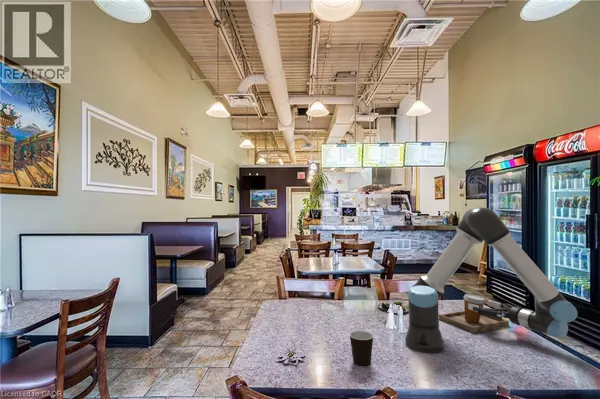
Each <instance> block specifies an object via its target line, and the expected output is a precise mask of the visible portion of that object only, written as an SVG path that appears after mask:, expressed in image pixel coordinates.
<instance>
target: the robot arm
mask: <svg viewBox="0 0 600 399" xmlns="http://www.w3.org/2000/svg"><path fill="white" fill-rule="evenodd" d="M455 229H456V234H455V235H454V237H453V238H452V239H451V241H450V242H449V243H448V245H447V246H446V247H445V249H444V250H443V252H442V253H441V254H440V256H439V257H438V259H437V260H436V261H435V263H433V265H432V267H431V268H430V270H429V271H428V272H427V274H426V275H422V276H420V278H418V280H417V282H416V283H414V284H413V285H412V286H411V287H409V289H408V291H407V292H408V294H407V298H408V306H409V312H408V322H409V323H408V329H407V333H406V335H405V345H406V346H407V347H408V348H409V349H410V350H413V351H416V352H420V353H426V354H437V353H441V352H444V350H445V341H444V339H443V335H442V333H441V331H440V323H439V322H440V320H439V315H440V314H439V301H440V299H441V298H442V297H443V295H444V294H445V290H444V287H445V286H446V284H448V282H449V280H450V279H451V278H452V276H453V275H454V274H455V273H456V271H457V270H458V269H459V267H460V266H461V265H462V263H463V262H464V261H465V259H466V258H467V257H468V255H469V254H470V252H471V251H472V250H473V248H474V247H475V246H476V245H478V244H482V243H483V242H484V243H485V244H486V245H487V246H491V247H492V248H493V250H495V251H496V253H497V254H498V255H499V256H500V258H502V259H503V261H504V262H505V263H506V264H507V266H508V267H509V268H510V269H511V270H512V271H513V273H514V274H515V275H516V276H517V278H519V280H520V281H521V282H522V283H523V285H524V286H525V287H526V288H527V289H528V290H529V292H530V293H531V294H532V295H533V297H534V308H535V311H534V310H532V309H528V308H523V307H519V306H514V305H511V304H510V303H507V302H506V303H501V302H497V301H494V300H490V299H489V300H487V306H488V307H490V308H488V307H483V308H481V307H480V306H477V305H474V304H470V303H468V309H470V310H473V311H476V312H478V314H480V315H486V316H491V317H496V318H500V319H508V321H509V322H510V323H512V324H513V325H517V326H520V327H523V328H527V329H528V330H530V331H531V330H533V331H535V332H539V333H542V334H545V335H548V336H550V337H554V338H559V339H562V338H564V337H566V335H567V334H568V331H569V325H568V323H571V322H573V321H575V320H576V319H577V317H578V310H577V308H576V307H575V306H574V305H573V303H572V302H570V301H568V300H567V299H566V298H565V297H564V295H563V294H562V293H561V292H560V291H559V289H558V288H557V287H556V286H555V285H554V284H553V282H552V281H550V279H549V278H548V277H547V276H546V275H545V274H544V273H543V271H542V270H541V269H540V268H539V267H538V266H537V264H536V263H535V262H534V261H533V260H532V259H531V258H530V257H529V255H528V254H527V253H526V252H525V251H524V250H523V249H522V247H521V246H520V245H519V244H518V242H516V240H515V239H514V238H513V237H512V236H511V232H512V231H511V230H510V229H509V228H508V226H506V224H505V223H504V221H503V220H502V219H501V218H500V217H499V215H498V214H497V213H496V212H495V211H493V210H492V209H490V208H487V207H474V208H471V209H468V210H467V211H466V212H465V213H464V214H463V216H462V219H461V221H460V222H459V224H458V225H457V226H456V227H455ZM491 307H492V308H491Z"/></svg>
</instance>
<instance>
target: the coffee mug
mask: <svg viewBox="0 0 600 399" xmlns="http://www.w3.org/2000/svg"><path fill="white" fill-rule="evenodd" d="M349 340H350V348H351V354H352V363H353V362H354V363H353V364H354V365H355V366H357V367H360V366H361V367H360V368H364V367H369V366H370V365H372V364H371V363H372V353H373V341H374V334H372V332H370V331H365V330H354V331H352V332H350V333H349Z"/></svg>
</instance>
